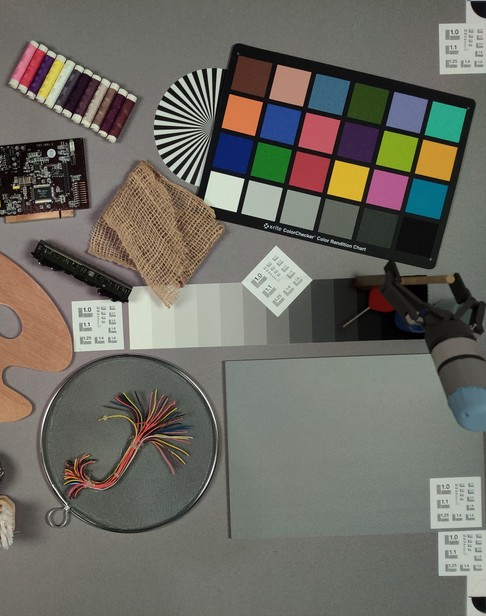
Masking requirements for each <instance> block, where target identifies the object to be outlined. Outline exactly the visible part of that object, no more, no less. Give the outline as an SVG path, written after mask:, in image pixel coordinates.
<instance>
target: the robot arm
mask: <svg viewBox="0 0 486 616" xmlns="http://www.w3.org/2000/svg"><path fill="white" fill-rule="evenodd" d="M396 263H397V262H396V260H395V259H394V258H391V257H390V258H389V260H388V261H387V262H386V264H385V265H384V266H383V271H384V274H385V276H384V279H385V282H384V283H383V284H382V286H381V287H380V288H379V290H378V291H379V292H380V294H381V295H382V296H383V297H384V298H385V299H386V300H387V301H388V302H389V304H390V305H391V306H392V307H393V308H394V309H395V310H394V311H395V312H396V311H397V313H398V314H399V315H400V316H401V317H402V319H403V321H404V323H405V325H406V326H408V327H411V326H412V325H413V324H417V325H420V326H421V327H422V328H423V329H424V330H425V332H424V342H425V345H426V347H427V350H428V352H429V355H430V357H431V359H432V362H433V365H434V368H435V371H436V374H437V376H438V378H439V381H440V384H441V386H442V389H443V391H444V392H443V393H444V395H445V399H446V400H447V406H448V408H449V410H450V411H451V413H452V415H453V417H454V419H455V422H456V423H457V425H458V426H460V428H462V429H464V430H465V431H468V432H472V433H478V432H484V433H486V358H485V356H484V354H483V351H482V348H481V346H480V345H479V343H478V341H477V340H478V339H479V338H480V337H481V336H482V335H483V334H484V333H485V329H484V324H483V325H482V323H483V318H484V314H485V310H486V302H485V301H484V300H478V301H480V302H478V301H476V300H477V298H476V297H474V296H473V295H472V293H471V291H470V289H469V288H468V287H467V286H466V284H465V282H464V280H463V278H462V276H461V274H460V272H457V271H456V272H454V273H453V274H452V275H453V276H454V278H455V280H454V282H453V283H447V285H448V287H449V289H450V291H451V294H452V296H453V298H455V300H456V302H457V304H460V305H461V304H462V303H463V305H462V306H461V307H460V308H459V310H458V311H457V312H456V313H455V314H453V313H452V312H450V311H449V310H442V309H439V308H436V307H434V305H432V304H431V303H430V302H428V301H426V302H425V301H423V300H422V299H421V298H420V297H418V296H417V295H416V294H414V293H413V292H412V291H411V290H410V289H408V287H405V285H402V284H400V283H401V282H402V279H401V273H400V271H399V268H398V266H397V264H396ZM469 308H470V309H472V312H471V317H470V321H469V325H468V324H466V323H464V322H463V321H462V320H460V318H461V317H462V316H463V315H464V314H465V312H466V311H467V310H468V309H469ZM425 309H427V310H428V311H427V312H426V313H425V315H424V316H422V312H423V311H424V310H425Z"/></svg>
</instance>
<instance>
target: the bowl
mask: <svg viewBox="0 0 486 616" xmlns="http://www.w3.org/2000/svg"><path fill="white" fill-rule="evenodd" d="M427 311H428V310H427V309H425V310H424V311H423V312H422V316H424V315H425V313H426V312H427ZM393 321H394V324H395V326H396V327H397V328H398V329H399V331H400V330H401V331H403V332H408V333H416V334H421V333H425V330H424V329H423V328H422V327H421V326H420V325H417V324H413V325H412V326H411V327H408V326H406V325H405V323H404V321H403V319H402V317H401V316H400V315H399V314H398V313H397V311H396V310H395V313H394V320H393Z"/></svg>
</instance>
